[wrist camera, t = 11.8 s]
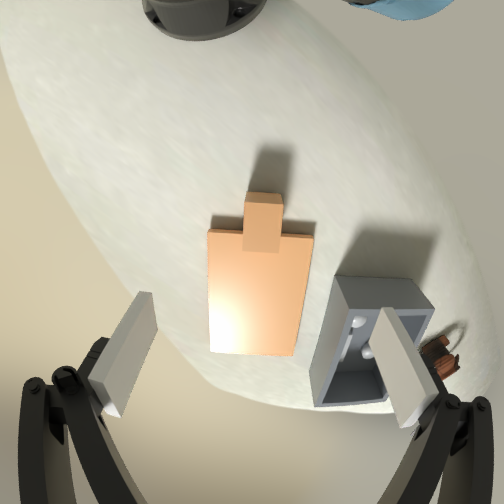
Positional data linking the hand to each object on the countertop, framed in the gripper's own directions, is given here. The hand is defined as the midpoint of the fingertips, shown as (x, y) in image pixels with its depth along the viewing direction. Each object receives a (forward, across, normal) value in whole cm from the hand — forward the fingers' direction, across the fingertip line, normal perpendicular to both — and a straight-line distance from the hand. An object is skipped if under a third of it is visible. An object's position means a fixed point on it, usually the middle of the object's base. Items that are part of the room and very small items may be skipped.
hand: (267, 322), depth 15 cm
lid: (+21, 0, -10) cm, 24 cm away
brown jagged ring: (+21, +36, -26) cm, 49 cm away
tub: (+21, +17, -18) cm, 33 cm away
